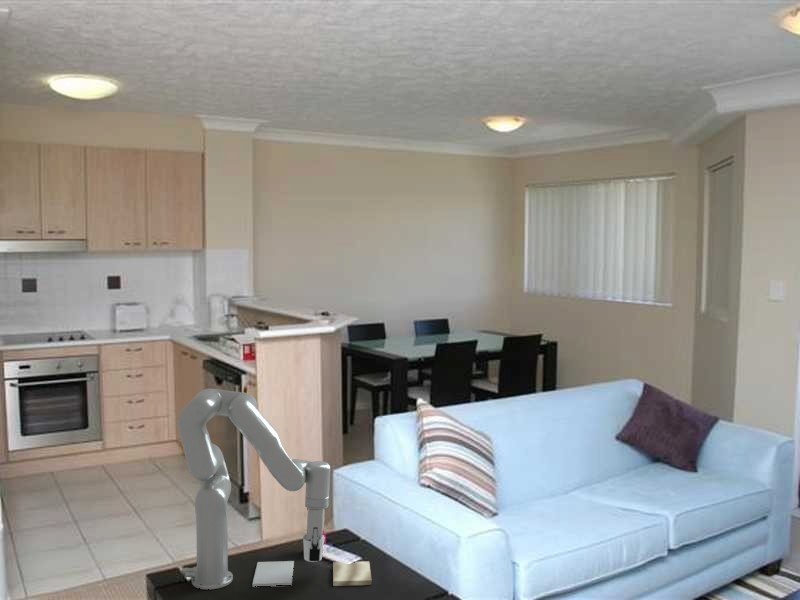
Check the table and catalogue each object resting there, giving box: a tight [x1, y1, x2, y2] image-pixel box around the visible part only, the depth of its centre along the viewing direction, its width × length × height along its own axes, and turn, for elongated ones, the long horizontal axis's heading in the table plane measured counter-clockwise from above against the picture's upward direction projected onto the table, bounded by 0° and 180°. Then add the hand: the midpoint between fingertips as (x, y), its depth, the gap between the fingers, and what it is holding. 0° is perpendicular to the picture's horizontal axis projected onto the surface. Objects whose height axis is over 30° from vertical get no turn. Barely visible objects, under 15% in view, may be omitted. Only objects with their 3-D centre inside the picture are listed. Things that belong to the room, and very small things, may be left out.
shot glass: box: [302, 533, 325, 563], centre depth 231 cm, size 7×7×7 cm
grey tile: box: [251, 560, 295, 588], centre depth 233 cm, size 12×16×1 cm
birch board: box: [332, 560, 373, 587], centre depth 234 cm, size 12×14×2 cm
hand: (314, 556), depth 231 cm, fingers closed on shot glass, 5 cm apart
